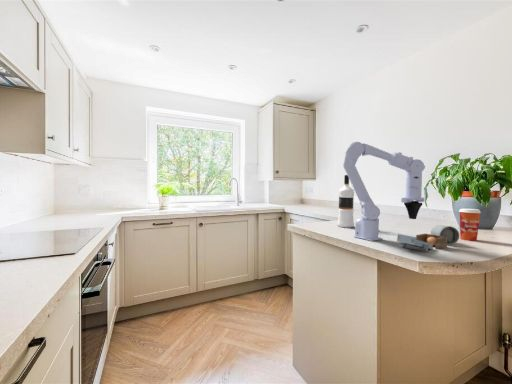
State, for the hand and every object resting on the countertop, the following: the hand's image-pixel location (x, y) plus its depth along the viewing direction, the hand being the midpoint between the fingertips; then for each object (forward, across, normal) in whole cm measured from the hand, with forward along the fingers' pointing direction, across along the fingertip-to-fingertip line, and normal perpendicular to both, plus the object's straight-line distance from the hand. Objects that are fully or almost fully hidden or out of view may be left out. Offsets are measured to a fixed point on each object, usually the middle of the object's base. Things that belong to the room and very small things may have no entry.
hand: (412, 218), depth 106 cm
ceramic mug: (+10, +9, -7) cm, 15 cm away
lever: (+8, -13, -5) cm, 16 cm away
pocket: (+10, -1, -8) cm, 13 cm away
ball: (+8, 0, -8) cm, 11 cm away
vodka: (+10, +4, +39) cm, 40 cm away
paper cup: (+10, +28, -10) cm, 31 cm away
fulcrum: (+10, -13, -8) cm, 18 cm away
